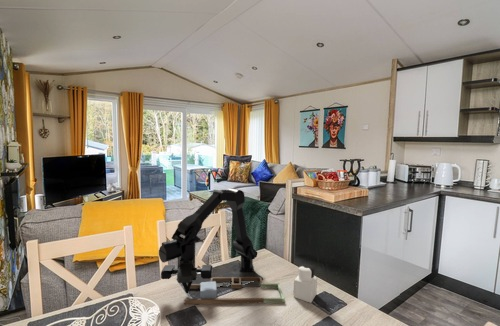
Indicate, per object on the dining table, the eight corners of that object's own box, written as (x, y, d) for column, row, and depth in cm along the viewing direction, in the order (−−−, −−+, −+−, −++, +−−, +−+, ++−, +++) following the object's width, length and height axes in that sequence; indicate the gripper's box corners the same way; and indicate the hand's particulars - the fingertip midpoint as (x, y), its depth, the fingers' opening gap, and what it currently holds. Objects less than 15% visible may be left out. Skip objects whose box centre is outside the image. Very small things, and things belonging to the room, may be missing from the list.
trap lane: (191, 281, 110) (191, 277, 110) (277, 280, 113) (277, 276, 113) (184, 304, 95) (184, 300, 95) (284, 302, 97) (284, 298, 97)
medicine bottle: (299, 288, 107) (300, 260, 106) (316, 294, 103) (318, 265, 102) (293, 297, 101) (294, 267, 100) (311, 303, 97) (312, 273, 96)
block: (200, 291, 103) (200, 282, 103) (215, 290, 104) (215, 281, 104) (200, 301, 97) (200, 291, 97) (216, 300, 98) (216, 289, 98)
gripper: (156, 264, 90) (156, 306, 91) (210, 263, 91) (209, 305, 93) (164, 250, 101) (164, 288, 102) (212, 250, 102) (212, 287, 104)
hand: (187, 292), depth 100 cm, fingers closed
